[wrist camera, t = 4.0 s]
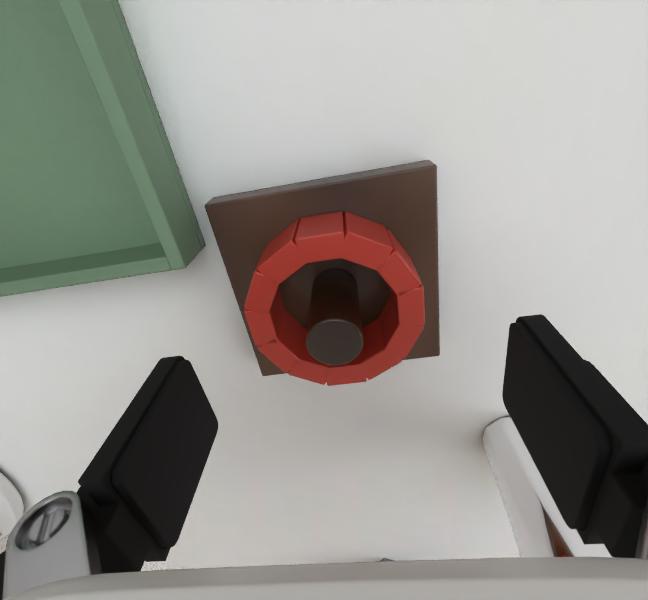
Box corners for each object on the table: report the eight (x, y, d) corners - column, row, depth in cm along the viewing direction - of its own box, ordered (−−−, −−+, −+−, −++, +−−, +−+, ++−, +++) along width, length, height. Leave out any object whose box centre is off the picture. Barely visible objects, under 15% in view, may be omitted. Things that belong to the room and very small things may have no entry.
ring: (278, 357, 18) (270, 392, 16) (238, 227, 14) (222, 249, 12) (416, 341, 17) (427, 375, 15) (408, 199, 14) (421, 218, 12)
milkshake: (484, 395, 20) (595, 620, 12) (565, 417, 21) (726, 645, 12) (445, 444, 22) (515, 665, 14) (520, 463, 23) (630, 684, 14)
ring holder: (266, 361, 19) (245, 442, 15) (212, 197, 15) (160, 241, 11) (434, 341, 18) (466, 421, 14) (429, 159, 14) (473, 190, 10)
